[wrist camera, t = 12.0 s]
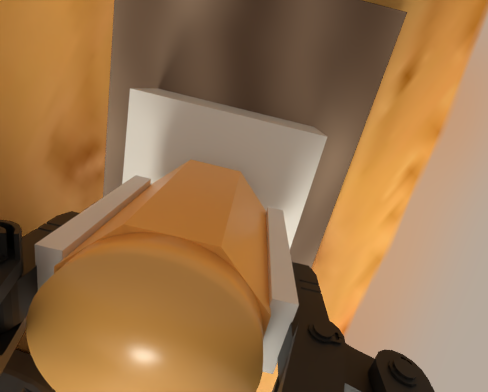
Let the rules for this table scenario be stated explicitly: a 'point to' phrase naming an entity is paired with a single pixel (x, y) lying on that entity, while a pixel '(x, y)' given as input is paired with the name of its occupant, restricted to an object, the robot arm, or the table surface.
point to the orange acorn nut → (161, 293)
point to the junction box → (223, 146)
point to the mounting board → (259, 74)
